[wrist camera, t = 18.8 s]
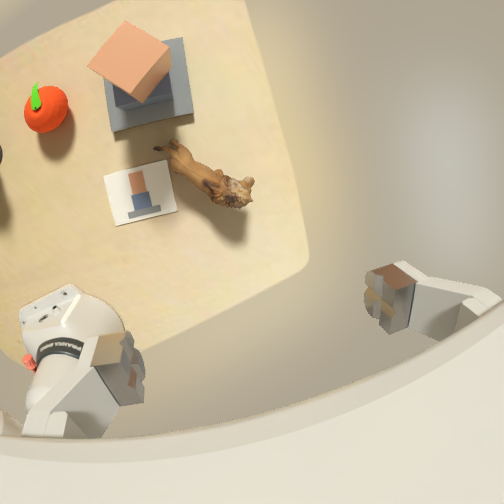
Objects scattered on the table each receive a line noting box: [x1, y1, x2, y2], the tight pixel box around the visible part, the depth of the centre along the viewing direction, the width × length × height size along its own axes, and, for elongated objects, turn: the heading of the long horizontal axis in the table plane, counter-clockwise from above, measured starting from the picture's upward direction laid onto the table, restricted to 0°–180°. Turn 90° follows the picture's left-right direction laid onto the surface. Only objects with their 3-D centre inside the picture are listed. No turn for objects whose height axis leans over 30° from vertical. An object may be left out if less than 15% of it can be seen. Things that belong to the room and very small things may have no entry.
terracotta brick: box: [87, 20, 172, 104], centre depth 25 cm, size 6×6×9 cm
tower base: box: [104, 37, 194, 132], centre depth 33 cm, size 12×12×8 cm
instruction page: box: [103, 160, 177, 226], centre depth 42 cm, size 10×8×1 cm
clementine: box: [24, 81, 68, 133], centre depth 30 cm, size 8×7×7 cm
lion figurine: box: [153, 139, 254, 209], centre depth 39 cm, size 15×5×9 cm, turn 61°
